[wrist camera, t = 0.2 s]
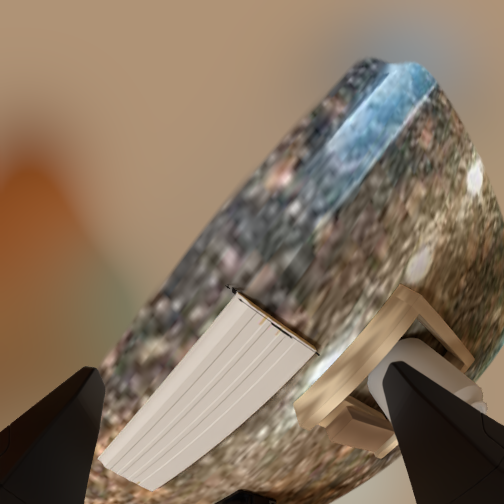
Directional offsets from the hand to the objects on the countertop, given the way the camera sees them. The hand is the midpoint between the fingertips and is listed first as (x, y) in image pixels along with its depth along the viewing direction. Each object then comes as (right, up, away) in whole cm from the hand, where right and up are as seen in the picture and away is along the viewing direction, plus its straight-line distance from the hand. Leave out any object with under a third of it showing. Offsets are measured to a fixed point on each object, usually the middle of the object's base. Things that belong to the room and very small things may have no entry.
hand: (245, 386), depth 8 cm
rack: (+14, -10, +18) cm, 24 cm away
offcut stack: (+11, -13, +18) cm, 25 cm away
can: (+15, -8, +18) cm, 25 cm away
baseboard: (-8, -13, +18) cm, 23 cm away
